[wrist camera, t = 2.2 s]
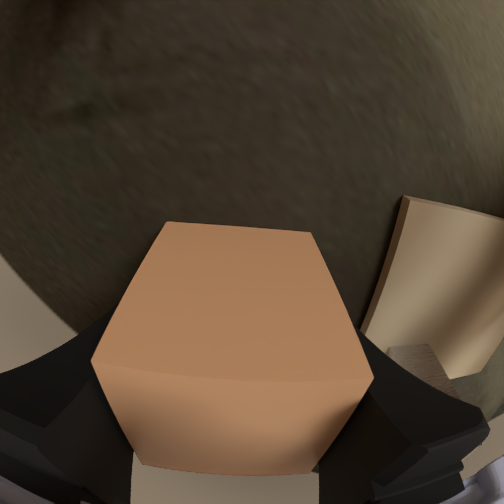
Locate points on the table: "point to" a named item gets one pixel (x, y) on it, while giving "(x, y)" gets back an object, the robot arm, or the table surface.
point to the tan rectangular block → (232, 353)
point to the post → (424, 367)
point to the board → (441, 285)
